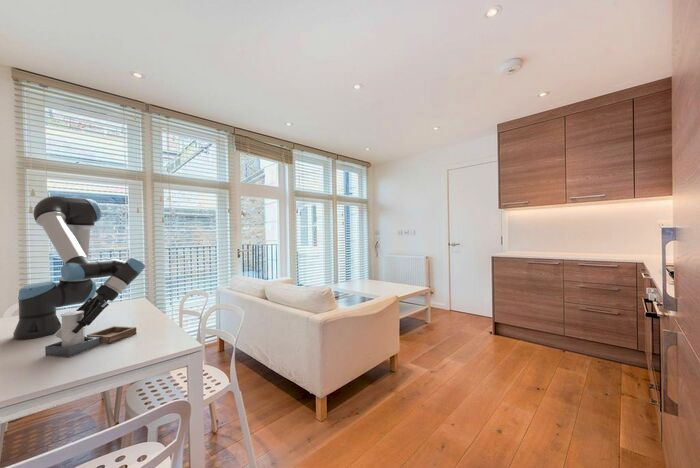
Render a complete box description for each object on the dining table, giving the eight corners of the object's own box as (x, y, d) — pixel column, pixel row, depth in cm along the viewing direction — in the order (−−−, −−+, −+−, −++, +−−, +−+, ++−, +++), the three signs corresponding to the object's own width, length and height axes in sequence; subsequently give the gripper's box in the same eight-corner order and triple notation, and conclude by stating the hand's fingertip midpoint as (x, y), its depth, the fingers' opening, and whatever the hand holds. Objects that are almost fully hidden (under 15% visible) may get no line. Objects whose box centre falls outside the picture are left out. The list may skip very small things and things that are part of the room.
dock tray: (86, 342, 122) (86, 335, 122) (114, 332, 134) (114, 326, 134) (110, 343, 120) (110, 336, 120) (136, 333, 132) (136, 327, 132)
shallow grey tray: (45, 355, 109) (45, 346, 109) (77, 344, 120) (77, 336, 120) (68, 357, 107) (68, 348, 107) (99, 345, 118) (99, 337, 118)
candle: (75, 346, 117) (74, 310, 117) (89, 347, 116) (89, 310, 116) (55, 353, 110) (55, 315, 110) (71, 354, 109) (70, 315, 109)
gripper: (129, 296, 122) (80, 347, 108) (108, 291, 131) (60, 338, 117) (114, 286, 117) (61, 338, 103) (93, 282, 127) (42, 329, 113)
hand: (60, 338), depth 110 cm, fingers closed on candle, 7 cm apart
